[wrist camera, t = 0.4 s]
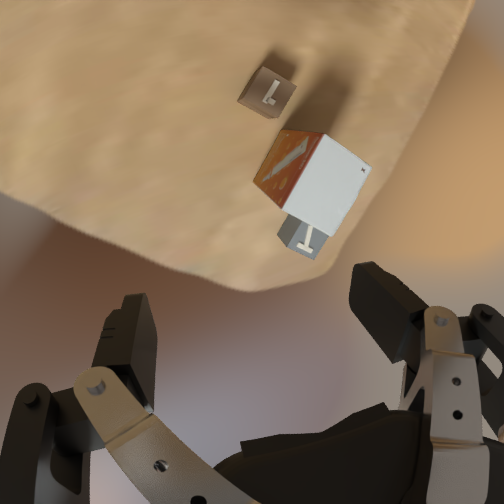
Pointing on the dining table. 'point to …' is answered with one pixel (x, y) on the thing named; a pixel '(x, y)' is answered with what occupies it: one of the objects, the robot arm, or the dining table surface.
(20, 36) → the dining table surface
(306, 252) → the slate block seven
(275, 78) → the walnut block one
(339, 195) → the small box
